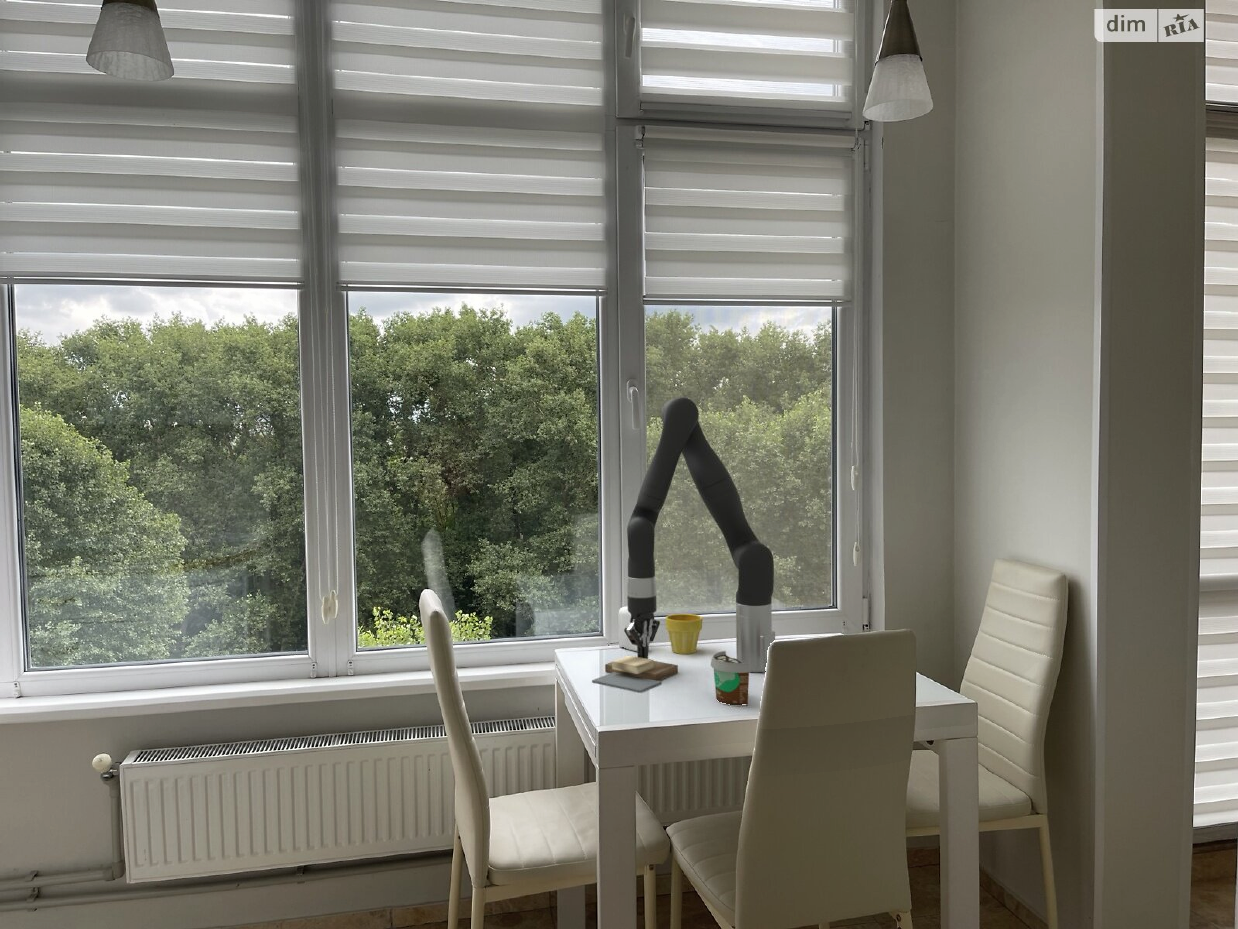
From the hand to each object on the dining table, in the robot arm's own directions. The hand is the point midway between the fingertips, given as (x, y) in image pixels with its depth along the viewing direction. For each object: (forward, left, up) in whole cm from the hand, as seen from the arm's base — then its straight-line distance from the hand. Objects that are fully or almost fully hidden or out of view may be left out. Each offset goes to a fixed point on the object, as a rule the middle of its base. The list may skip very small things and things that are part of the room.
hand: (643, 659), depth 223 cm
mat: (-3, +11, -3) cm, 11 cm away
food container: (-30, +9, -3) cm, 32 cm away
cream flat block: (0, +5, -1) cm, 5 cm away
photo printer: (+16, -17, -3) cm, 24 cm away
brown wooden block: (0, +1, -3) cm, 3 cm away
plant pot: (+3, -23, -3) cm, 24 cm away
